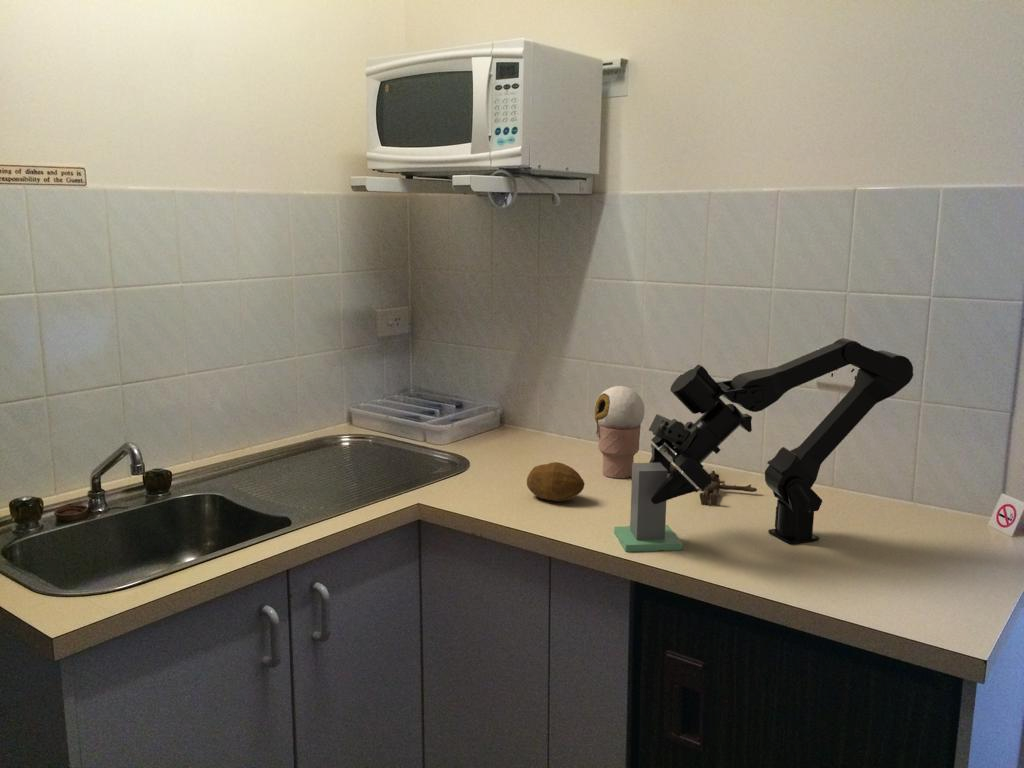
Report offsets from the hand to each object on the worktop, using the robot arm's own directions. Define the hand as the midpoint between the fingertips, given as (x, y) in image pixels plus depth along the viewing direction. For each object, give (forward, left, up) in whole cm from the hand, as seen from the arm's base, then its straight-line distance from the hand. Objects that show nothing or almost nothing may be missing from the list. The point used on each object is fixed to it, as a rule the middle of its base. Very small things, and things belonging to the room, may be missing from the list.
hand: (645, 493), depth 152 cm
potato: (+27, +5, -9) cm, 29 cm away
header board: (0, -1, -9) cm, 9 cm away
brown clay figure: (+19, -26, -9) cm, 33 cm away
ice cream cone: (+38, -15, -9) cm, 42 cm away
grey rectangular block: (0, -1, -8) cm, 8 cm away
